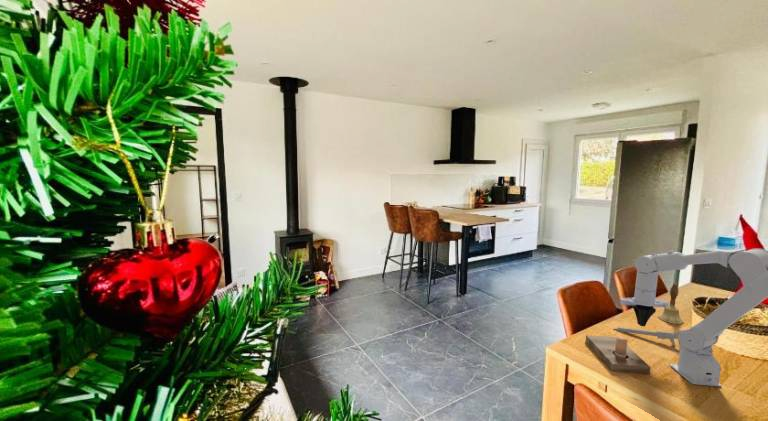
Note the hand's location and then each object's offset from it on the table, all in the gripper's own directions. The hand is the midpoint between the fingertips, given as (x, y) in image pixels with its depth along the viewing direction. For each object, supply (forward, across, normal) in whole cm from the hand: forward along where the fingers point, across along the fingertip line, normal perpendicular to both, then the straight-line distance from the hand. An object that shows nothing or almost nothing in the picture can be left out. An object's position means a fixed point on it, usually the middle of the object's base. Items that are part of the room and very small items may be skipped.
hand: (641, 325), depth 114 cm
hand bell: (+10, -28, -27) cm, 40 cm away
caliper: (+10, -8, -9) cm, 16 cm away
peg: (+9, +11, +9) cm, 17 cm away
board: (+9, +11, +6) cm, 16 cm away
